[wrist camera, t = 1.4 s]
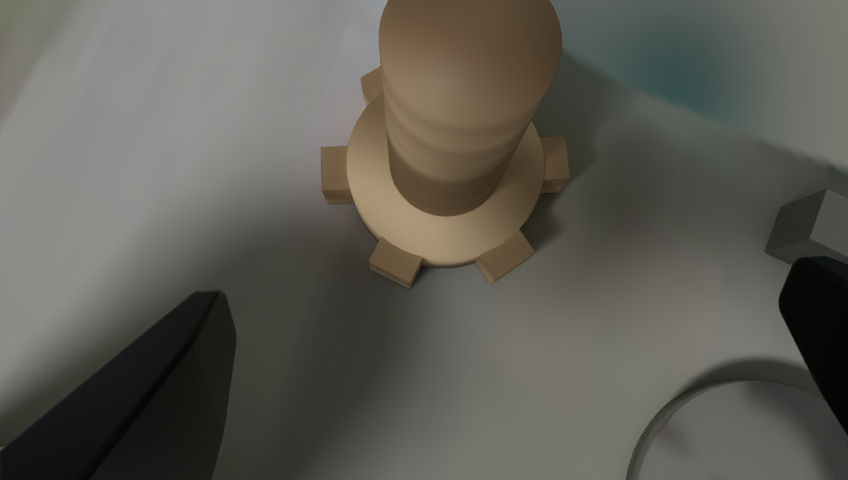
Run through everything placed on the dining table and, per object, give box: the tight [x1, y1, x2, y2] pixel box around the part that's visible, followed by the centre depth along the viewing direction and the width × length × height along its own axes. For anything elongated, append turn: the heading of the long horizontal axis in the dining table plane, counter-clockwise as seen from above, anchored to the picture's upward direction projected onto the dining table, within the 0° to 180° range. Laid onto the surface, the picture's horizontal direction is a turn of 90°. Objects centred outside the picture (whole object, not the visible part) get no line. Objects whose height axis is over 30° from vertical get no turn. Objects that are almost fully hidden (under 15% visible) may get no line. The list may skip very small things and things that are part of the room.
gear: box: [321, 0, 570, 289], centre depth 17 cm, size 9×8×10 cm
